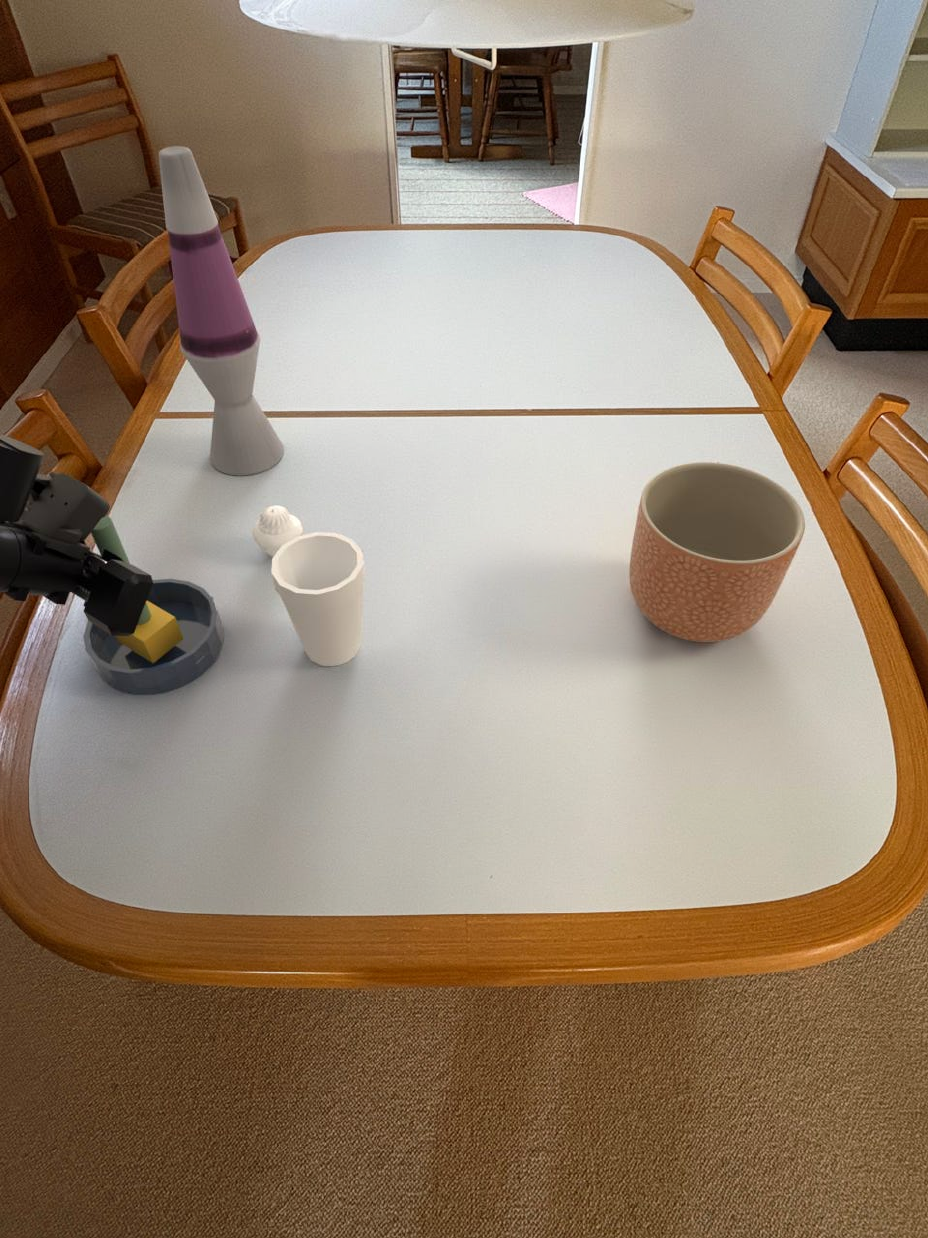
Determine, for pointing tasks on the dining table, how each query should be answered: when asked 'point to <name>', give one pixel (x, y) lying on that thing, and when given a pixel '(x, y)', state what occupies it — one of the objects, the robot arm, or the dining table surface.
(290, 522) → the white citrus juicer
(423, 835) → the dining table surface
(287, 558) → the foam cup
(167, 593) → the bowl
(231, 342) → the lamp
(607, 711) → the dining table surface
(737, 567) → the planter
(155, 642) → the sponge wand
